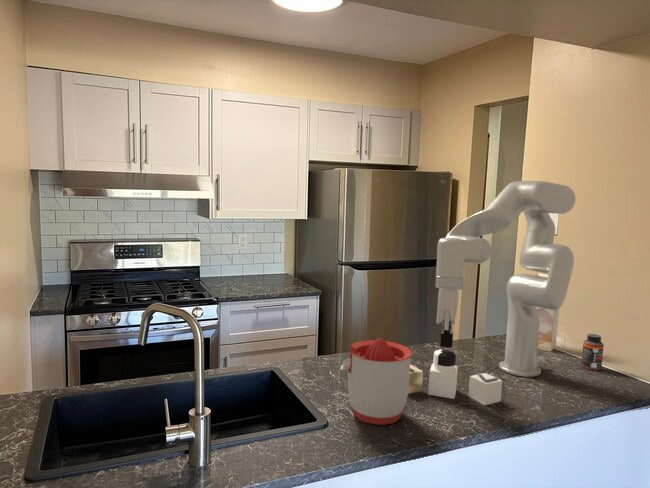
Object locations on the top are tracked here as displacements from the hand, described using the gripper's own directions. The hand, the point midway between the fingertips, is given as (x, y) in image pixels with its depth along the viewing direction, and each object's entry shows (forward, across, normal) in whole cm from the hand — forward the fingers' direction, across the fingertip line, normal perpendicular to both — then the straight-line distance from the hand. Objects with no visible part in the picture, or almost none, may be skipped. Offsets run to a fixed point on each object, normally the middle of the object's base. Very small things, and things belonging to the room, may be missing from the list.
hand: (446, 346), depth 134 cm
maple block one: (+13, +2, -10) cm, 17 cm away
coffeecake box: (+15, -59, +29) cm, 68 cm away
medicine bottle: (+14, 0, 0) cm, 14 cm away
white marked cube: (+14, 0, +11) cm, 17 cm away
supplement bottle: (+15, -40, +46) cm, 62 cm away
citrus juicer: (+13, +22, -16) cm, 30 cm away
